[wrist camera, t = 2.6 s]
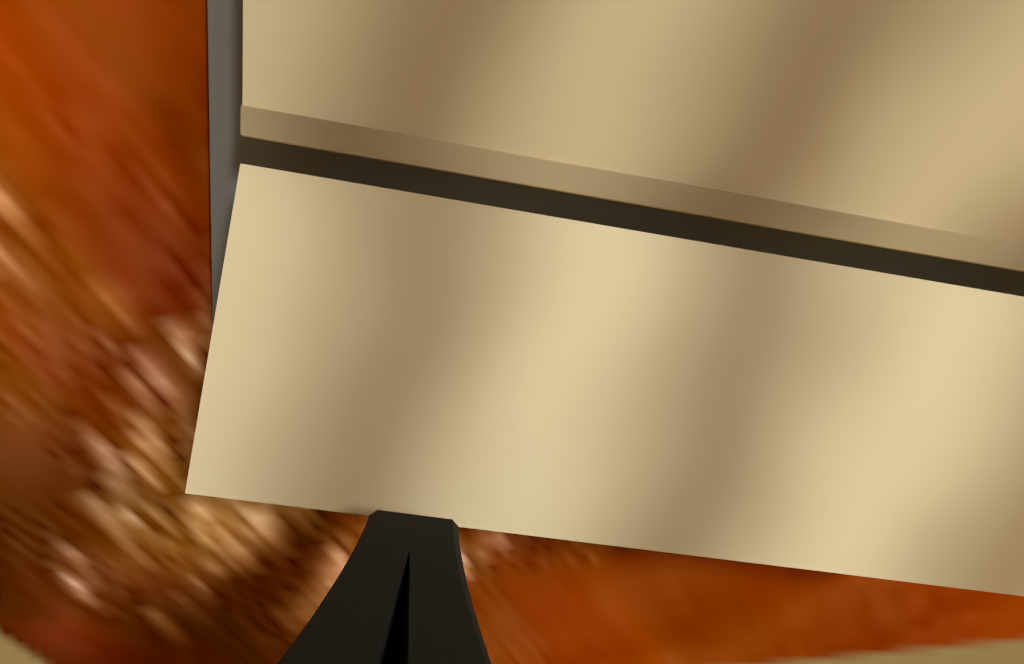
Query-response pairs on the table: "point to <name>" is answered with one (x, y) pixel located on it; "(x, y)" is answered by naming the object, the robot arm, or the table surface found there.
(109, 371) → the table surface
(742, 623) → the table surface
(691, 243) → the board
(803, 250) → the underlay mat
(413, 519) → the robot arm
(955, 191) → the fixed plank
